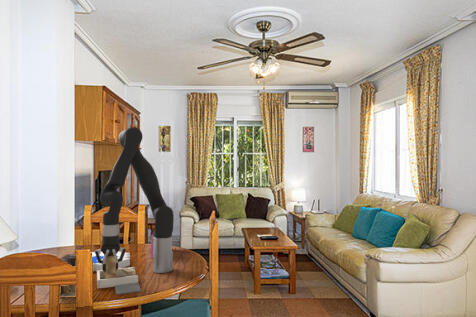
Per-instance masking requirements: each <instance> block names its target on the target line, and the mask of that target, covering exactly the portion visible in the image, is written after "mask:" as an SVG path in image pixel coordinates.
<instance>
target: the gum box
mask: <svg viewBox="0 0 476 317" xmlns="http://www.w3.org/2000/svg"><path fill="white" fill-rule="evenodd" d="M150 235H151V237H150V239H151V240H150V241H151V242H150V259H153V250H154V232H153V233H151V234H150Z"/></svg>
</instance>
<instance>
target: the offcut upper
mask: <svg viewBox="0 0 476 317" xmlns="http://www.w3.org/2000/svg"><path fill="white" fill-rule="evenodd" d="M122 274H123V275H125V276H135V275H136V270H135V269H134V270H133V269H132V268H130V266H127V267H123V269H122Z"/></svg>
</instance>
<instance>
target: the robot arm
mask: <svg viewBox="0 0 476 317" xmlns="http://www.w3.org/2000/svg"><path fill="white" fill-rule="evenodd" d="M118 140H119V143H120V145H121V147H122V150H121V153H120V155H119V157H118V159H117V160H116V162H115V163H114V166H113V167H112V171H111V174H110V176H109V179H108V181H107V182H106V184H105V185H104V187H103V189H102V190H101V192H100V195H99V201H100V204H101V205H103V206H108V207H109V209H108V210H107V211H104V212H103V214H102V227H101V228H102V230H101V235H102V236H101V247H100V248H99V249H95V250H94V252H95V254H96V257H97V260H98V263H102V264H103V271H104V272H106V257H108V256H116V271H117V270H118V262H120V261H122V260H123V257H124V254H125V253H126V252H127V251H126V247H121V245H120V234H121V233H120V213H121V209H122V207H123V203H124V198H123V195H122V192H120V191H118V190H119V188H123V187H124V185H125V183H126V179H127V176H128V173H129V169H130V168H131V167H132V170H133V171H134V174H135V177H136V179H137V181H138V184H139V186H140V188H141V190H142V192H143V193H144V196H145V197H146V199H147V202H148V204H149V207H150V210H151V214H152V217H153V219H154V222H155V223H154V231H153V233H154V250H153V258H152V259H153V260H152V264H153V265H152V267H153V268H152V269H153V270H152V272H153V273H158V274H165V273H169V272H173V270H174V269H173V268H174V266H173V265H174V262H173V261H174V252H173V233H174V232H173V231H174V223H175V222H174V218H175V217H174V215H175V214H174V211H173V209H172V207H170V206H168V205H167V203H166V201H165V200H164V197H163V196H162V193H161V188H160V182H159V179H158V177H157V174H156V172H155V169H154V167H153V166H152V164H151V163H150V162H149V161H148V160H147V158H146V157H144V155H143V154H142V152H141V150H140V147H139V146H140V145H141V142H142V140H143V133H142V130H141V129H140V128H138V127H135V126H132V127H131V126H130V127H129V128H126V129H124V130H122V131H121V132H120V133H119V134H118ZM118 251H119V252H121V255H120V258H119V259H117V255H116V254H117V253H118ZM100 252H103V254H104V258H103V260H101V258H100V256H99V254H100Z"/></svg>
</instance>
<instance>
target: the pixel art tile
mask: <svg viewBox="0 0 476 317" xmlns="http://www.w3.org/2000/svg"><path fill="white" fill-rule="evenodd" d="M91 253H92V261H93V272H97V271H99V270H103V264H102V263H98V260H97V257H96V254H95V251H92V252H91ZM116 255H117V259H119V258H120V255H121V251H120V250H119V251H118V253H117V254H116ZM99 256H100V258H101V260H103V258H104V254H103V252H102V251H101V252H100V254H99ZM130 266H131V254H130V252H125V254H124V257H123V260H122V261H120V262H118V268H127V267H130Z"/></svg>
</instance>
